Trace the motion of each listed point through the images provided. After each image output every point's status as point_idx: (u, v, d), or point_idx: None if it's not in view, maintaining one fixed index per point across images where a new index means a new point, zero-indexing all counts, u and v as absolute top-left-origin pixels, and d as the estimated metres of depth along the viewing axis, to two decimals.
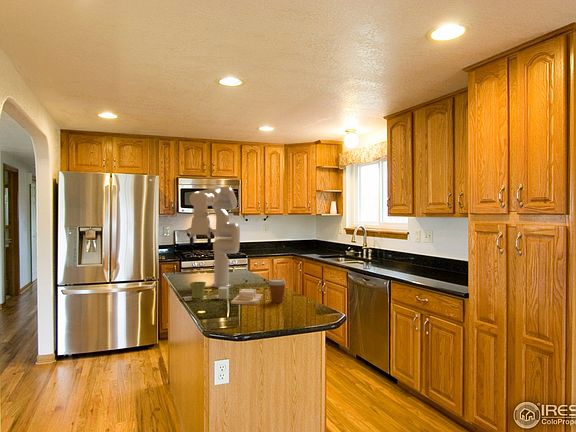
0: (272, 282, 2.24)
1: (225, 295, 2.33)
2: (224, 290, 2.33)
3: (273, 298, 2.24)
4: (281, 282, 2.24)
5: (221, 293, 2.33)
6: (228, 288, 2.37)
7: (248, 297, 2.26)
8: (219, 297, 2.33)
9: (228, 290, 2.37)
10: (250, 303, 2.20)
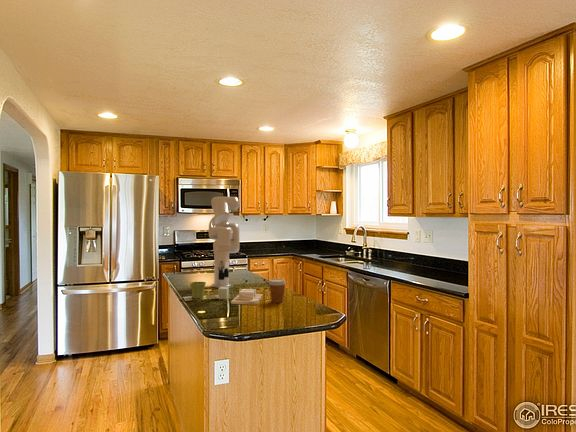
0: (272, 282, 2.24)
1: (225, 295, 2.33)
2: (224, 290, 2.33)
3: (273, 298, 2.24)
4: (281, 282, 2.23)
5: (221, 293, 2.33)
6: (228, 288, 2.37)
7: (248, 297, 2.26)
8: (219, 297, 2.33)
9: (228, 290, 2.37)
10: (250, 303, 2.20)
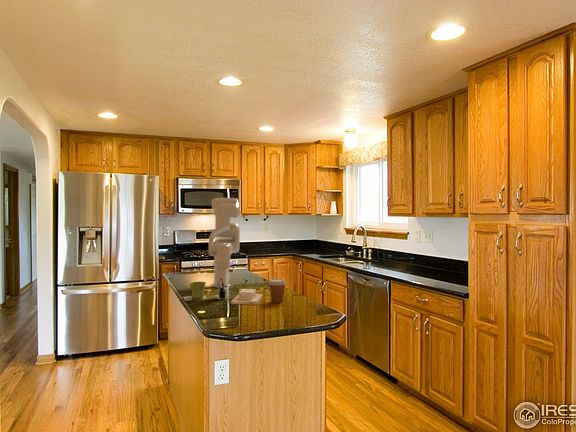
0: (272, 282, 2.24)
1: (225, 295, 2.33)
2: None
3: (273, 298, 2.24)
4: (281, 282, 2.23)
5: None
6: (228, 288, 2.37)
7: (248, 297, 2.26)
8: None
9: (228, 290, 2.37)
10: (250, 303, 2.20)
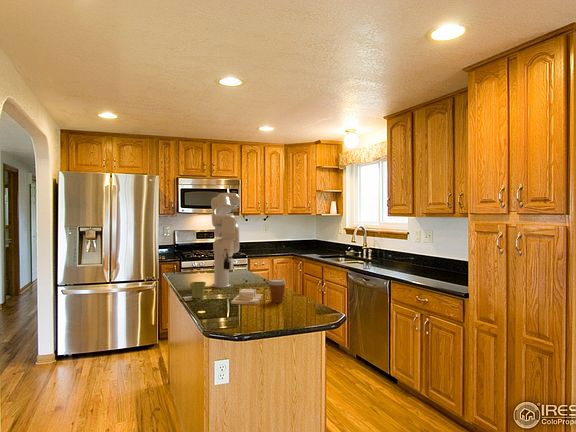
0: (272, 282, 2.24)
1: None
2: None
3: (273, 298, 2.24)
4: (281, 282, 2.24)
5: None
6: (232, 259, 2.35)
7: (248, 297, 2.26)
8: (223, 268, 2.32)
9: (232, 261, 2.35)
10: (250, 303, 2.20)
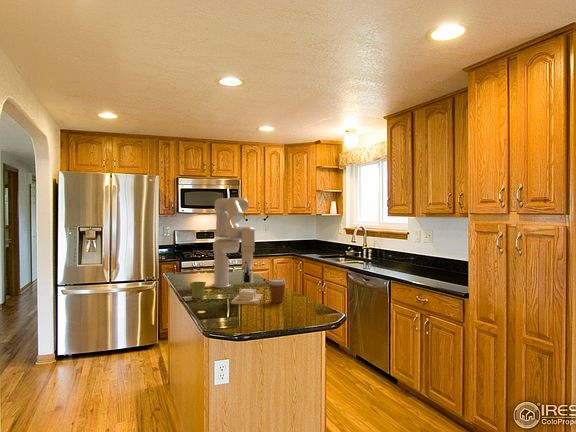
0: (272, 282, 2.24)
1: (250, 279, 2.27)
2: (249, 274, 2.27)
3: (273, 298, 2.24)
4: (281, 282, 2.24)
5: None
6: (252, 272, 2.31)
7: (248, 297, 2.26)
8: (243, 281, 2.27)
9: (252, 274, 2.31)
10: (250, 303, 2.20)
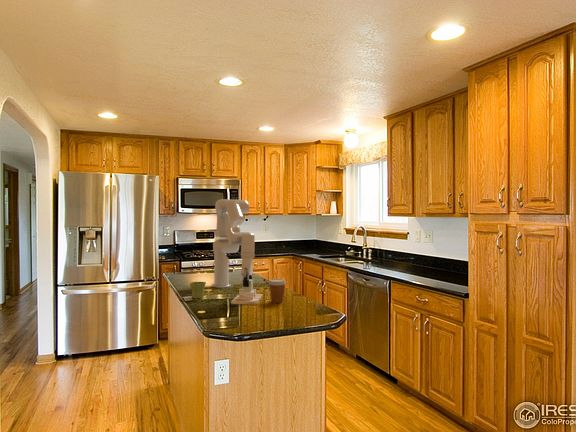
0: (272, 282, 2.24)
1: (249, 287, 2.27)
2: None
3: (273, 298, 2.24)
4: (281, 282, 2.24)
5: None
6: (252, 280, 2.31)
7: (248, 297, 2.26)
8: (243, 289, 2.28)
9: (252, 282, 2.31)
10: (250, 303, 2.20)
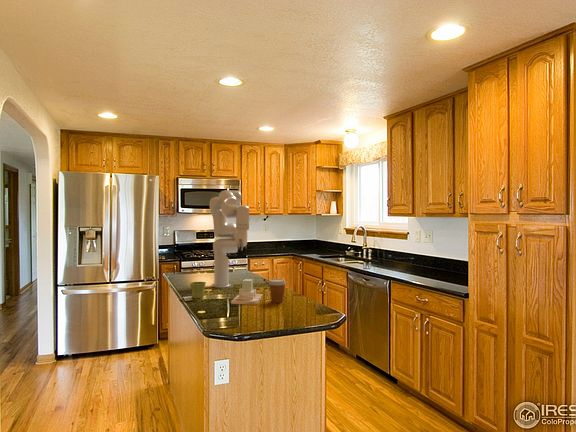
0: (272, 282, 2.24)
1: (249, 287, 2.27)
2: (248, 282, 2.27)
3: (273, 298, 2.24)
4: (281, 282, 2.24)
5: (245, 285, 2.27)
6: (252, 280, 2.31)
7: (248, 297, 2.26)
8: (243, 289, 2.28)
9: (252, 282, 2.31)
10: (250, 303, 2.20)
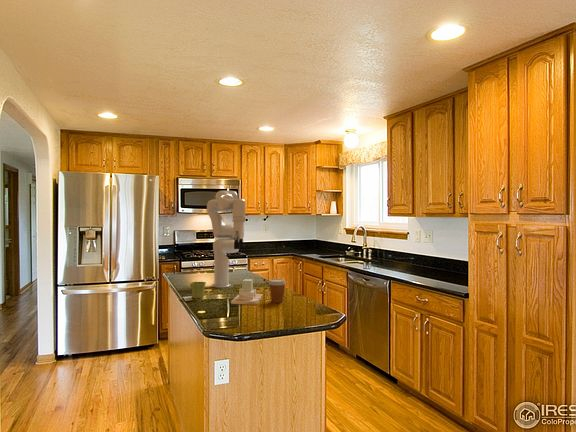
0: (272, 282, 2.24)
1: (249, 287, 2.27)
2: (248, 282, 2.27)
3: (273, 298, 2.24)
4: (281, 282, 2.24)
5: (245, 285, 2.27)
6: (252, 280, 2.31)
7: (248, 297, 2.26)
8: (243, 289, 2.28)
9: (252, 282, 2.31)
10: (250, 303, 2.20)
